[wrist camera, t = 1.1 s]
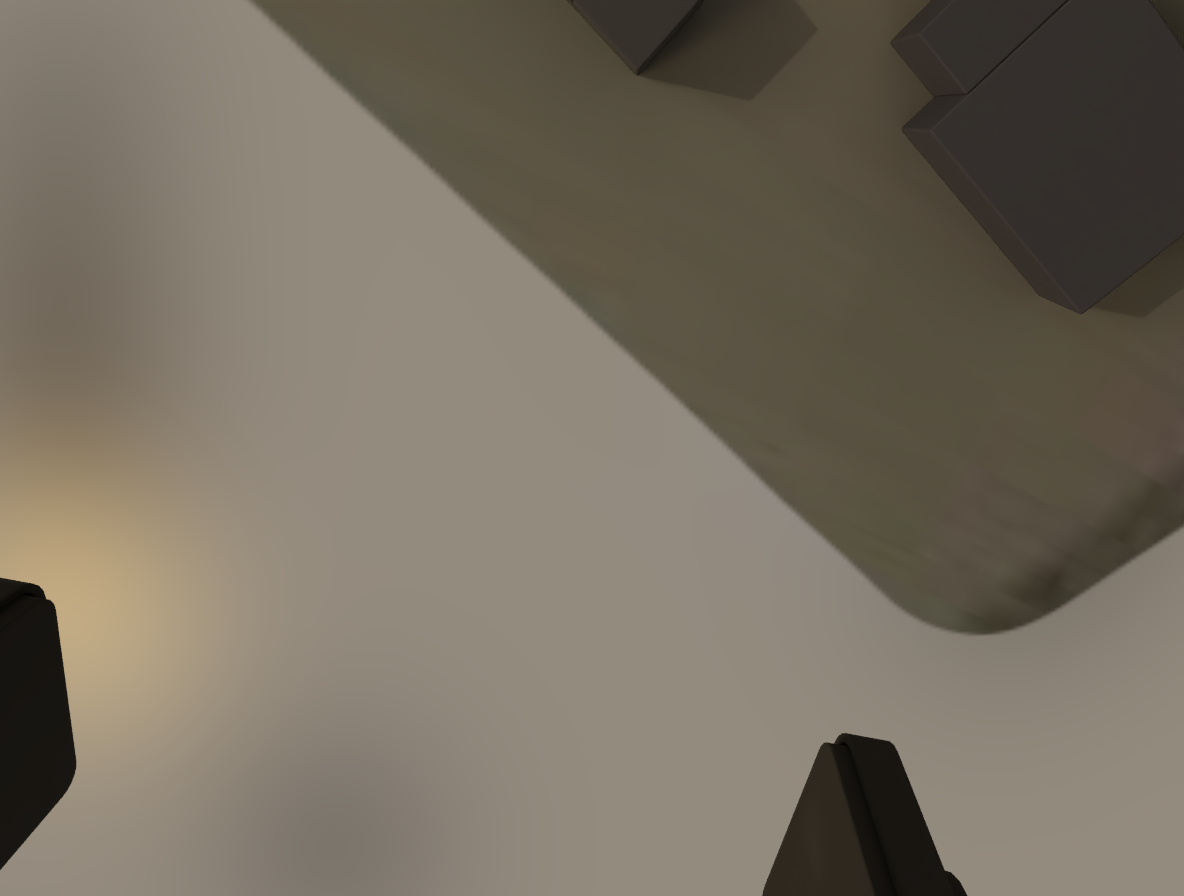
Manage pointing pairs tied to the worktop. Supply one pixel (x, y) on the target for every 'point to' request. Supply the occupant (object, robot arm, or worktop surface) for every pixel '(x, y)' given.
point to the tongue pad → (1056, 132)
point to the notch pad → (636, 25)
